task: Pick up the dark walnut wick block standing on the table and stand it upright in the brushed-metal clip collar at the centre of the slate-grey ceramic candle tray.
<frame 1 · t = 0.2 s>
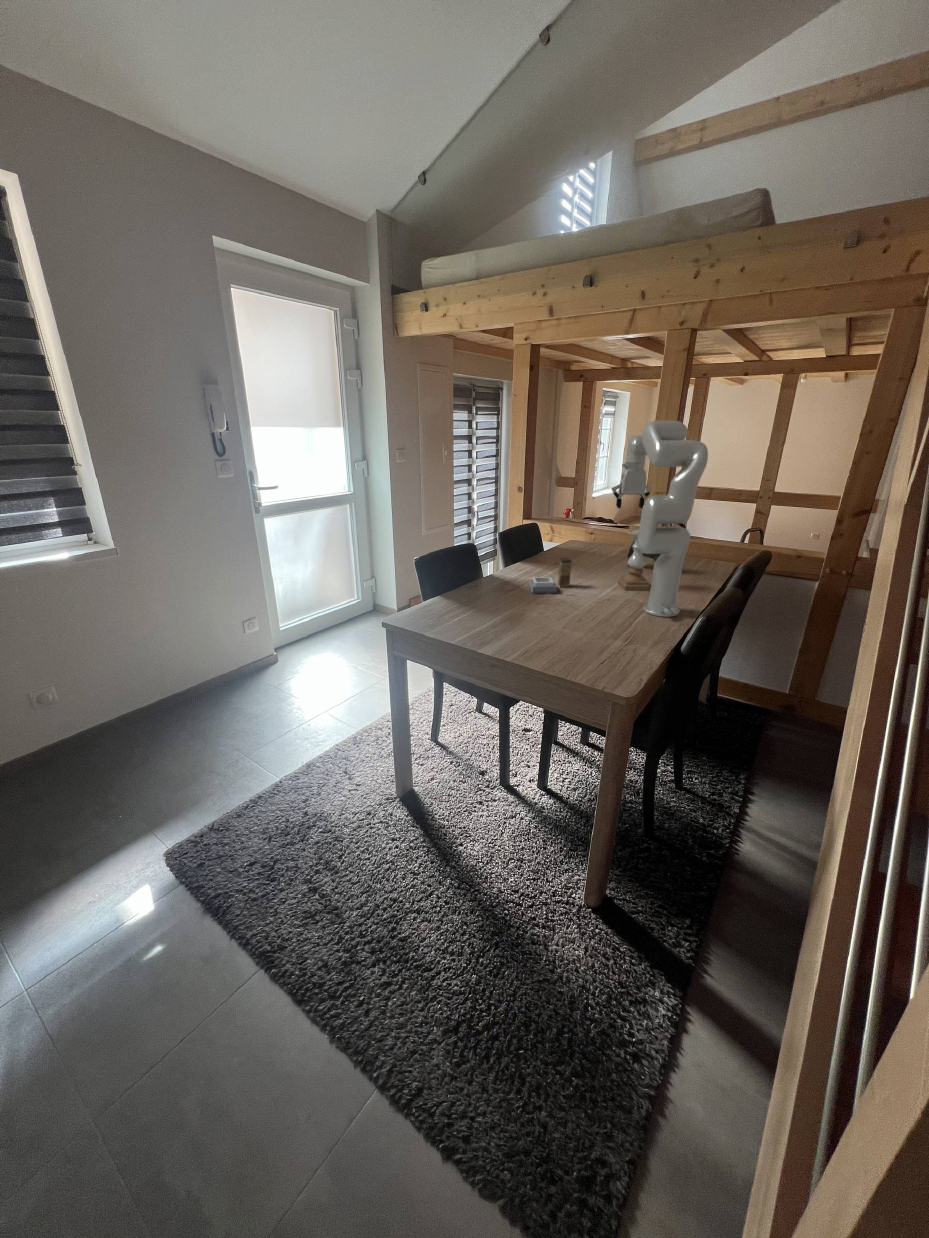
hand: (629, 507, 214), 31 cm above the table, tool pointing down, fingers open, 9 cm apart
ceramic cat: (646, 570, 236), on the table
candle tray: (542, 590, 207), on the table
candle holder: (633, 586, 212), on the table
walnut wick: (563, 586, 212), on the table
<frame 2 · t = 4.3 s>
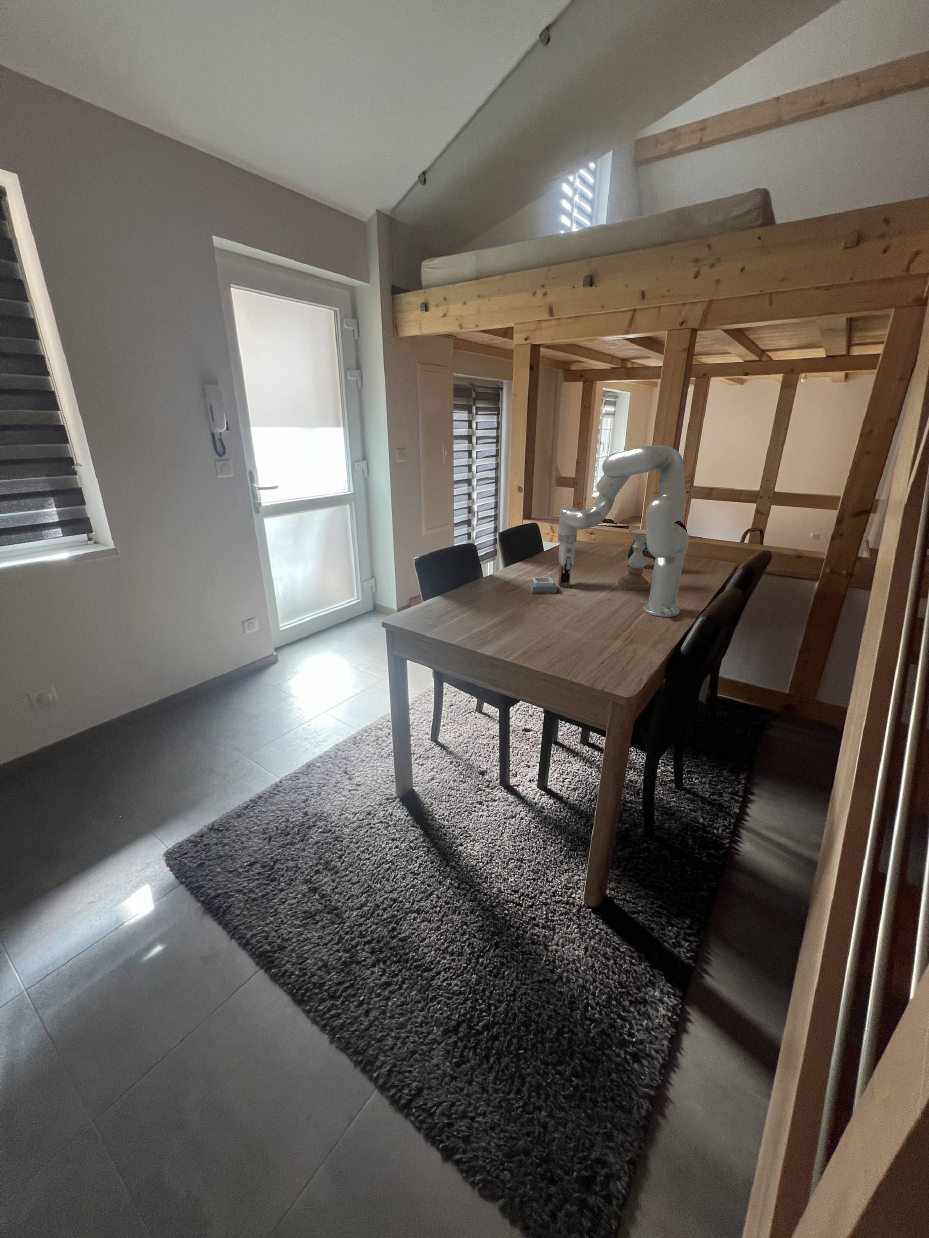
hand: (563, 580, 211), 3 cm above the table, tool pointing down, fingers closed on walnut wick, 3 cm apart
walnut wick: (563, 586, 212), on the table, touching gripper
everything else where it was.
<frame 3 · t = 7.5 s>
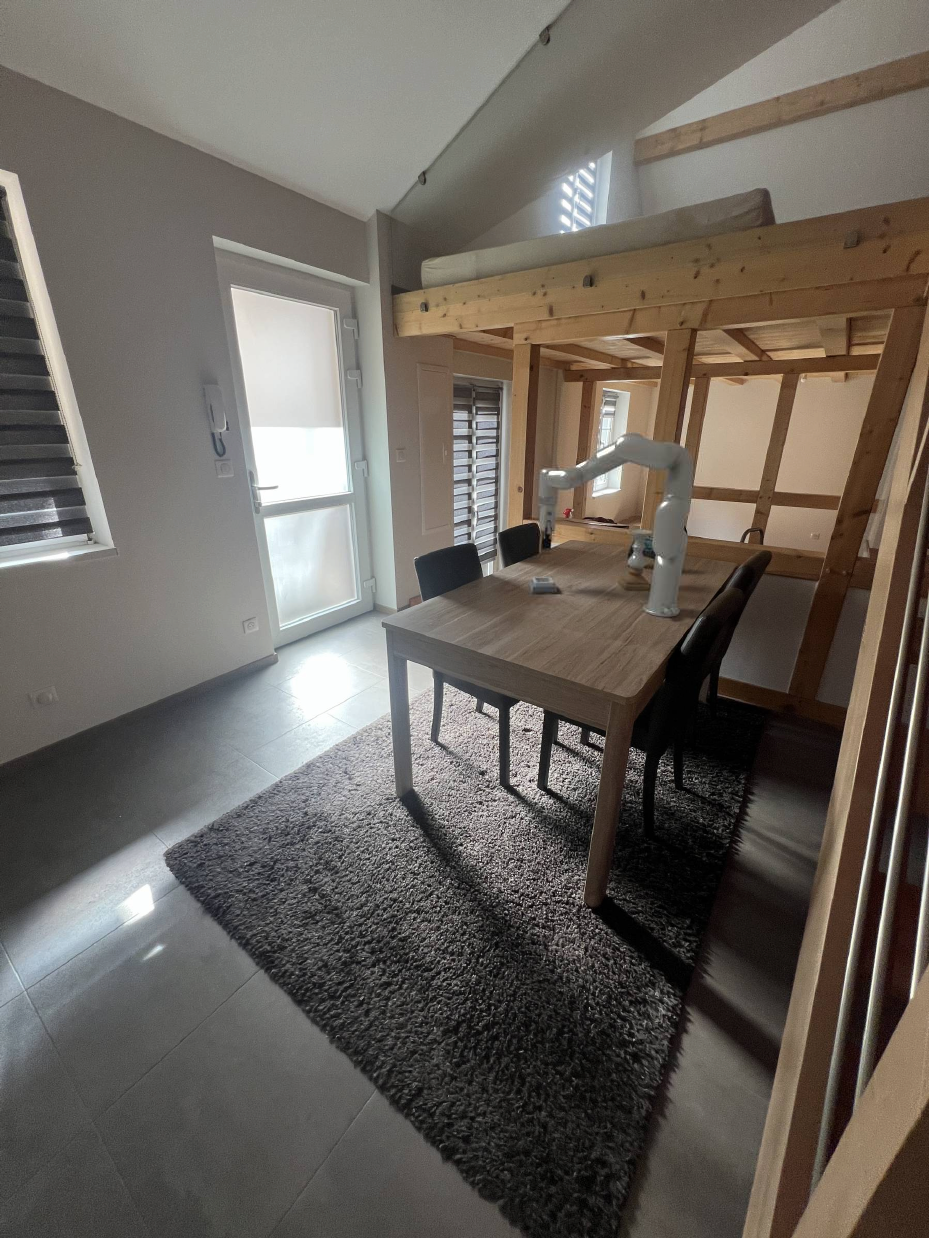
hand: (544, 546, 200), 19 cm above the table, tool pointing down, fingers closed on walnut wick, 3 cm apart
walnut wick: (544, 553, 201), point 16 cm above the table, touching gripper
everything else where it was.
when the fingers open (5 cm above the table, at t = 10.7 s): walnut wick drops 2 cm, resting on candle tray.
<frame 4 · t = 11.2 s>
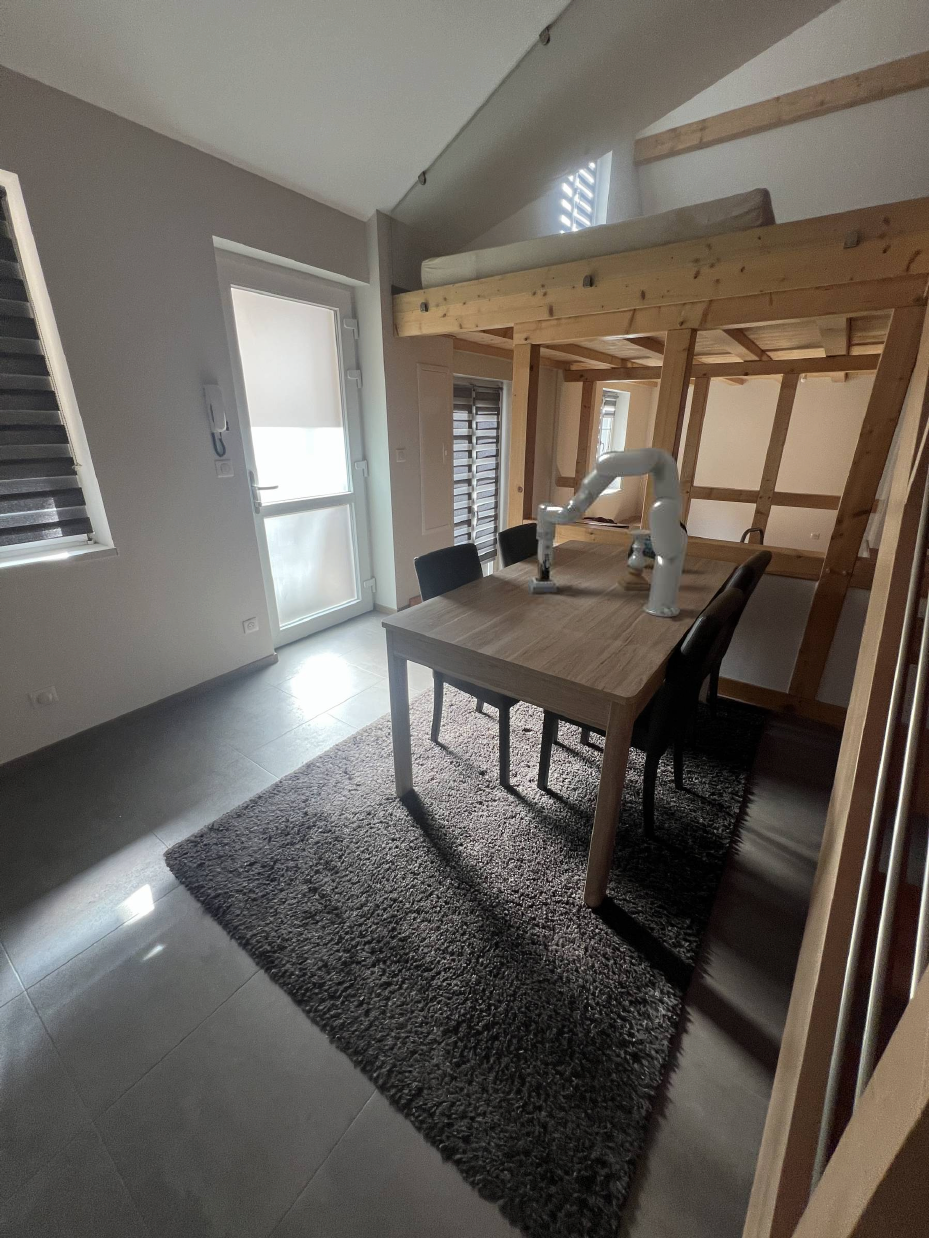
hand: (543, 575, 205), 6 cm above the table, tool pointing down, fingers open, 9 cm apart
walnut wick: (542, 587, 207), point 1 cm above the table, touching candle tray
everything else where it was.
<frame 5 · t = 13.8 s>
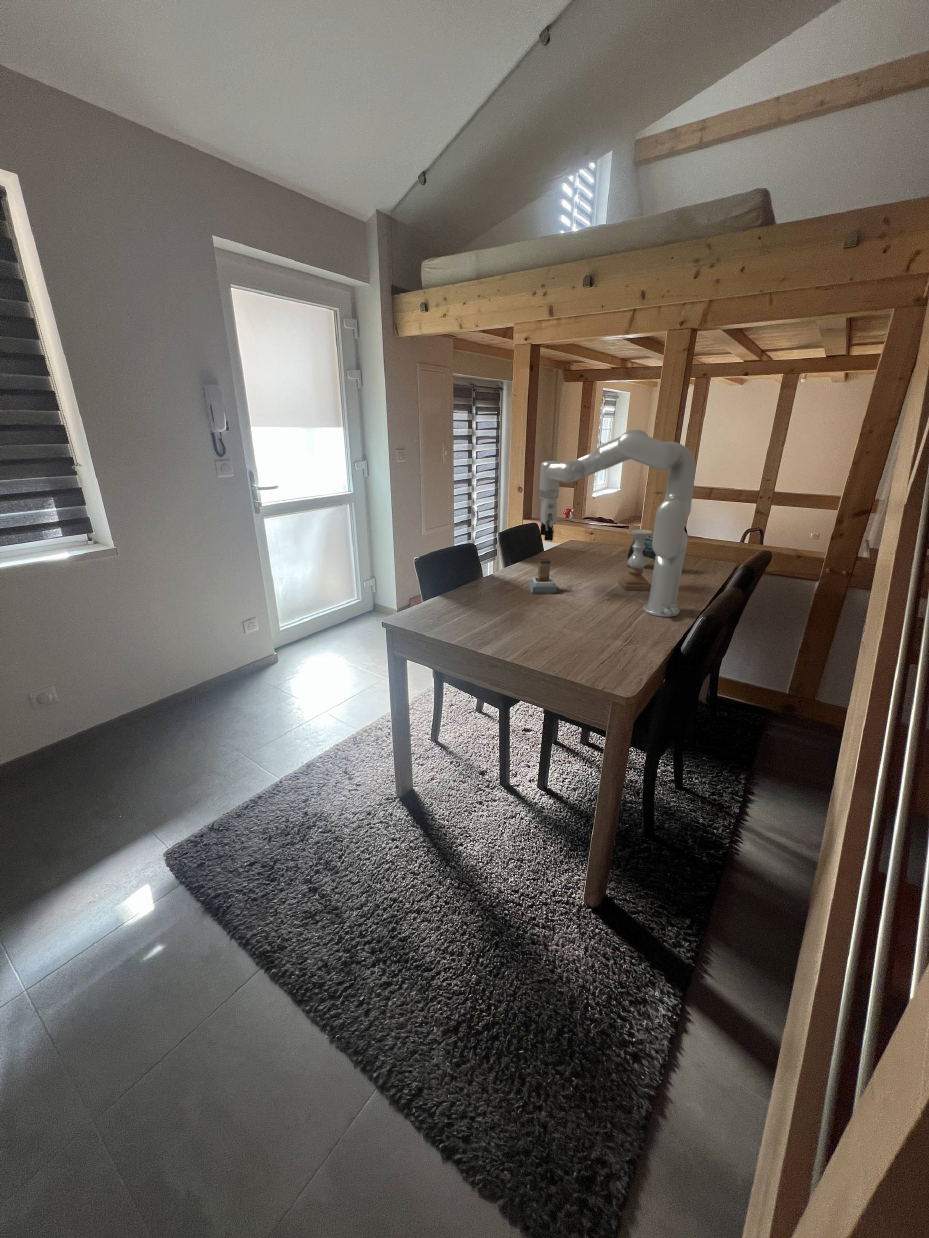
hand: (546, 537, 199), 22 cm above the table, tool pointing down, fingers open, 9 cm apart
nothing on the table moved.
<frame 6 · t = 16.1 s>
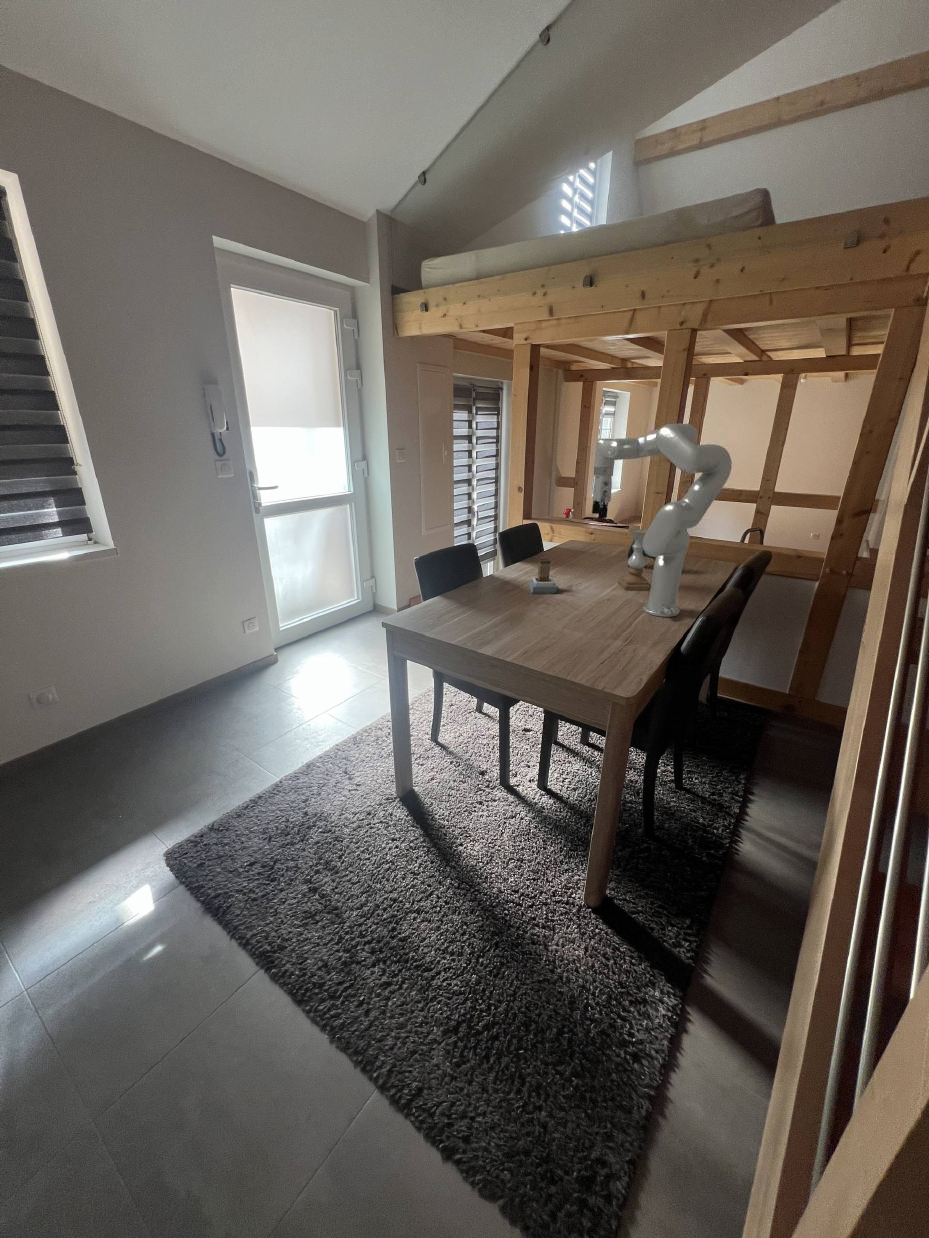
hand: (599, 515, 200), 30 cm above the table, tool pointing down, fingers open, 9 cm apart
nothing on the table moved.
at the end: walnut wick 0.1 cm off-centre on the candle tray, point 1.0 cm above the candle tray's base; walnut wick tilted 0°; the gripper is holding nothing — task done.
